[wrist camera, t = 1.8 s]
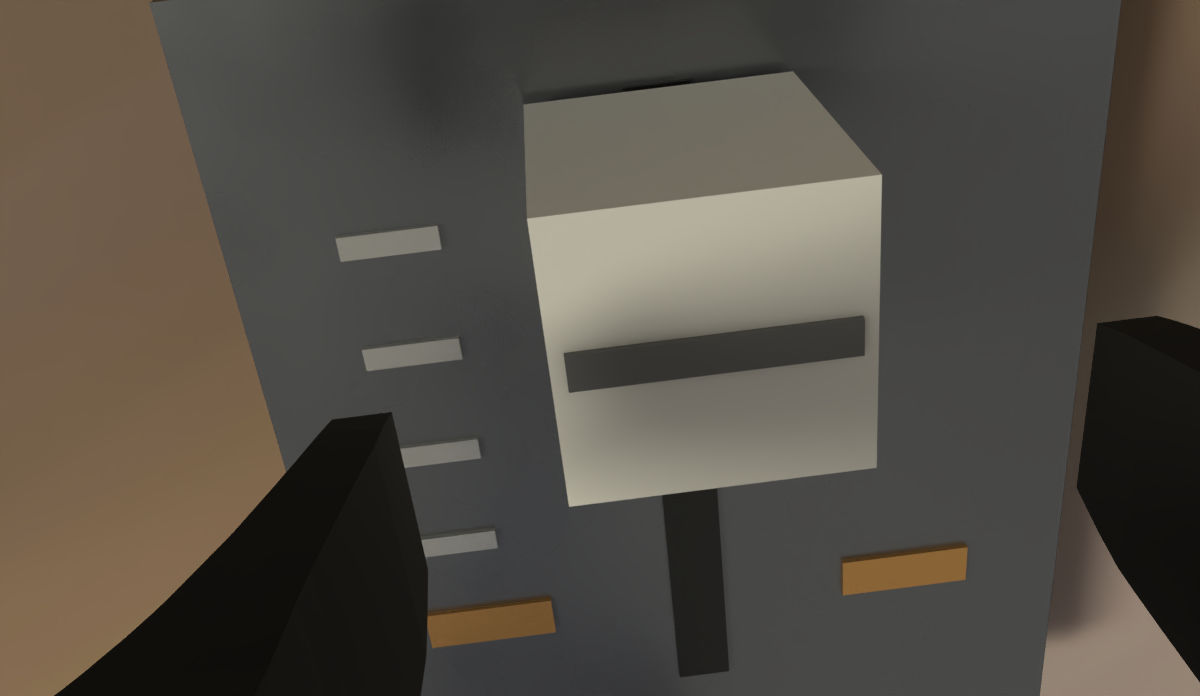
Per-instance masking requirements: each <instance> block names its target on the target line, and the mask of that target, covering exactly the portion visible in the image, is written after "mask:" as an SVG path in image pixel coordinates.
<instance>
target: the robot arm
mask: <svg viewBox="0 0 1200 696" xmlns="http://www.w3.org/2000/svg"><path fill="white" fill-rule="evenodd" d="M1077 489H1078V491H1079V493H1080V495H1081V497H1082V499H1083V501H1084V503H1085V505H1086V508H1087V510H1088V512H1089V514H1090V516H1091V518H1092V520H1093V522H1094V524H1095V526H1096V528H1097V530H1098V532H1099V534H1100V536H1101V537H1102V539H1103V541H1104V543H1105V545H1106V547H1107V548H1108V550H1109V552H1110V554H1111V556H1112V558H1113V559H1114V561H1115V563H1116V565H1117V567H1118V569H1119V570H1120V571H1121V573H1122V574H1123V576H1124V577H1125V579H1126V580H1127V582H1128V583H1129V584H1130V586H1131V587H1132V589H1133V590H1134V592H1135V593H1136V594H1137V596H1138V597H1139V599H1140V600H1141V601H1142V603H1143V604H1144V606H1145V607H1146V608H1147V610H1148V611H1149V613H1150V614H1151V616H1152V617H1153V618H1154V620H1155V621H1156V623H1157V624H1158V625H1159V627H1160V628H1161V630H1162V631H1163V632H1164V634H1165V635H1166V636H1167V638H1168V639H1169V641H1170V642H1171V643H1172V645H1173V646H1174V647H1175V649H1176V650H1177V652H1178V653H1179V654H1180V656H1181V657H1182V658H1183V660H1184V661H1185V663H1186V664H1187V665H1188V667H1189V668H1190V669H1191V671H1192V672H1193V674H1194V675H1195V676H1196V678H1197V679H1198V680H1199V682H1200V329H1198V328H1195V327H1193V326H1190V325H1187V324H1183V323H1180V322H1177V321H1174V320H1170V319H1167V318H1163V317H1159V316H1152V317H1144V318H1136V319H1128V320H1120V321H1112V322H1104V323H1097V330H1096V338H1095V346H1094V354H1093V362H1092V370H1091V378H1090V386H1089V394H1088V402H1087V410H1086V417H1085V425H1084V433H1083V441H1082V449H1081V457H1080V465H1079V473H1078V481H1077ZM427 620H428V567H427V563H426V558H425V554H424V549H423V545H422V541H421V536H420V532H419V528H418V523H417V519H416V515H415V510H414V506H413V502H412V497H411V493H410V489H409V484H408V480H407V476H406V471H405V467H404V463H403V458H402V454H401V450H400V445H399V441H398V437H397V432H396V428H395V424H394V419H393V415H392V412H387V413H379V414H371V415H363V416H355V417H347V418H339V419H332V420H331V421H330V422H329V423H328V424H327V425H326V426H325V428H324V429H323V430H322V431H321V432H320V433H319V434H318V435H317V437H316V438H315V439H314V440H313V441H312V443H311V444H310V445H309V446H308V447H307V448H306V450H305V451H304V452H303V453H302V454H301V456H300V457H299V458H298V459H297V460H296V461H295V463H294V464H293V465H292V466H291V467H290V469H289V470H288V471H287V472H286V473H285V474H284V476H283V477H282V478H281V479H280V480H279V481H278V483H277V484H276V485H275V486H274V487H273V488H272V489H271V491H270V492H269V493H268V494H267V495H266V496H265V497H264V499H263V500H262V501H261V502H260V503H259V504H258V505H257V506H256V508H255V509H254V510H253V511H252V512H251V513H250V514H249V515H248V517H247V518H246V519H245V520H244V521H243V522H242V523H241V525H240V526H239V527H238V528H237V529H236V530H235V531H234V532H233V533H232V534H231V536H230V537H229V538H228V539H227V540H226V541H225V542H224V543H223V544H222V545H221V546H220V547H219V548H218V549H217V550H216V551H215V552H214V553H213V554H212V555H211V556H210V557H209V558H208V559H207V560H206V561H205V562H204V563H203V564H202V565H201V566H200V567H199V568H198V569H197V570H196V571H195V572H194V573H193V574H192V575H191V576H190V577H189V578H188V579H187V580H186V581H185V582H184V583H183V584H182V585H181V586H180V587H179V588H178V589H177V590H176V591H175V592H174V593H173V594H172V595H171V596H170V597H169V598H168V599H167V600H166V601H165V602H164V603H163V604H162V605H161V606H160V607H159V608H158V609H157V610H156V611H155V612H154V613H153V614H151V615H150V616H149V617H148V618H147V619H146V620H145V621H144V622H143V623H141V624H140V625H139V626H138V627H137V628H136V629H135V630H134V631H133V632H131V633H130V634H129V635H128V636H127V637H126V638H125V639H123V640H122V641H121V642H120V643H119V644H117V645H116V646H115V647H114V648H113V649H111V650H110V651H109V652H108V653H107V654H105V655H104V656H103V657H102V658H101V659H100V660H98V661H97V662H96V663H95V664H94V665H92V666H91V667H90V668H89V669H88V670H86V671H85V672H84V673H83V674H82V675H80V676H79V677H78V678H76V679H75V680H74V681H73V682H71V683H70V684H69V685H68V686H66V687H65V688H64V689H63V690H61V691H60V692H58V693H57V694H56V695H54V696H421V690H422V684H423V677H424V670H425V663H426V653H427Z"/></svg>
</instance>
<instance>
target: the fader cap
mask: <svg viewBox="0 0 1200 696" xmlns="http://www.w3.org/2000/svg"><path fill="white" fill-rule="evenodd" d="M523 109H524V141H525V173H526V205H527V223H528V229H529V236H530V243H531V250H532V257H533V264H534V271H535V277H536V284H537V291H538V298H539V305H540V312H541V318H542V325H543V332H544V339H545V346H546V353H547V359H548V366H549V373H550V380H551V387H552V394H553V400H554V407H555V414H556V421H557V428H558V435H559V442H560V448H561V455H562V462H563V469H564V476H565V483H566V489H567V496H568V503H569V507H572V506H580V505H588V504H596V503H603V502H611V501H619V500H627V499H635V498H643V497H651V496H659V495H666V494H674V493H682V492H690V491H698V490H706V489H714V488H722V487H729V486H737V485H745V484H753V483H761V482H769V481H777V480H785V479H792V478H800V477H808V476H816V475H824V474H832V473H840V472H848V471H855V470H863V469H871V468H877V421H878V366H879V311H880V256H881V201H882V174H881V173H880V172H879V171H878V169H877V168H876V167H875V166H874V165H873V164H872V162H871V161H870V160H869V159H868V158H867V157H866V155H865V154H864V153H863V152H862V151H861V150H860V149H859V147H858V146H857V145H856V144H855V143H854V142H853V140H852V139H851V138H850V137H849V136H848V135H847V133H846V132H845V131H844V130H843V129H842V128H841V126H840V125H839V124H838V123H837V122H836V121H835V119H834V118H833V117H832V116H831V115H830V114H829V113H828V111H827V110H826V109H825V108H824V107H823V106H822V104H821V103H820V102H819V101H818V100H817V99H816V97H815V96H814V95H813V94H812V93H811V92H810V90H809V89H808V88H807V87H806V86H805V85H804V83H803V82H802V81H801V80H800V79H799V78H798V77H797V75H796V74H795V73H794V72H793V71H792V72H783V73H775V74H767V75H759V76H751V77H743V78H735V79H727V80H718V81H710V82H702V83H694V84H686V85H678V86H670V87H662V88H653V89H645V90H637V91H629V92H621V93H613V94H605V95H596V96H588V97H580V98H572V99H564V100H556V101H548V102H540V103H531V104H523Z"/></svg>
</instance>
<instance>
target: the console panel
mask: <svg viewBox="0 0 1200 696" xmlns="http://www.w3.org/2000/svg"><path fill="white" fill-rule="evenodd" d="M150 6H151V10H152V13H153V17H154V20H155V24H156V27H157V30H158V34H159V37H160V41H161V44H162V48H163V51H164V54H165V58H166V61H167V65H168V68H169V71H170V75H171V78H172V82H173V85H174V89H175V92H176V95H177V99H178V102H179V106H180V109H181V113H182V116H183V119H184V123H185V126H186V130H187V133H188V137H189V140H190V143H191V147H192V150H193V154H194V157H195V161H196V164H197V167H198V171H199V174H200V178H201V181H202V184H203V188H204V191H205V195H206V198H207V202H208V205H209V208H210V212H211V215H212V219H213V222H214V226H215V229H216V232H217V236H218V239H219V243H220V246H221V250H222V253H223V256H224V260H225V263H226V267H227V270H228V273H229V277H230V280H231V284H232V287H233V291H234V294H235V297H236V301H237V304H238V308H239V311H240V315H241V318H242V321H243V325H244V328H245V332H246V335H247V339H248V342H249V345H250V349H251V352H252V356H253V359H254V363H255V366H256V369H257V373H258V376H259V380H260V383H261V386H262V390H263V393H264V397H265V400H266V404H267V407H268V410H269V414H270V417H271V421H272V424H273V428H274V431H275V434H276V438H277V441H278V445H279V448H280V452H281V455H282V458H283V462H284V465H285V469H286V472H287V471H288V470H289V469H290V467H291V466H292V465H293V464H294V463H295V461H296V460H297V459H298V458H299V457H300V456H301V454H302V453H303V452H304V451H305V450H306V448H307V447H308V446H309V445H310V444H311V443H312V441H313V440H314V439H315V438H316V437H317V435H318V434H319V433H320V432H321V431H322V430H323V429H324V428H325V426H326V425H327V424H328V423H329V422H330V421H331V420H332V419H339V418H347V417H355V416H363V415H371V414H379V413H387V412H392V415H393V419H394V424H395V428H396V432H397V437H398V441H399V445H400V450H401V454H402V458H403V463H404V467H405V471H406V476H407V480H408V484H409V489H410V493H411V497H412V502H413V506H414V510H415V515H416V519H417V523H418V528H419V532H420V536H421V541H422V545H423V549H424V554H425V558H426V563H427V567H428V620H427V653H426V663H425V670H424V677H423V684H422V690H421V696H1040V688H1041V679H1042V671H1043V662H1044V654H1045V645H1046V637H1047V628H1048V620H1049V611H1050V603H1051V594H1052V586H1053V577H1054V569H1055V560H1056V552H1057V543H1058V535H1059V526H1060V518H1061V509H1062V501H1063V492H1064V484H1065V475H1066V467H1067V458H1068V450H1069V441H1070V433H1071V424H1072V416H1073V407H1074V399H1075V390H1076V382H1077V373H1078V365H1079V356H1080V348H1081V339H1082V331H1083V322H1084V314H1085V305H1086V297H1087V288H1088V280H1089V271H1090V263H1091V254H1092V246H1093V237H1094V229H1095V220H1096V212H1097V203H1098V195H1099V186H1100V178H1101V169H1102V161H1103V152H1104V144H1105V135H1106V127H1107V118H1108V110H1109V101H1110V93H1111V84H1112V76H1113V67H1114V59H1115V50H1116V42H1117V33H1118V25H1119V16H1120V8H1121V0H153V1H151V2H150ZM792 71H793V72H794V73H795V74H796V75H797V77H798V78H799V79H800V80H801V81H802V82H803V83H804V85H805V86H806V87H807V88H808V89H809V90H810V92H811V93H812V94H813V95H814V96H815V97H816V99H817V100H818V101H819V102H820V103H821V104H822V106H823V107H824V108H825V109H826V110H827V111H828V113H829V114H830V115H831V116H832V117H833V118H834V119H835V121H836V122H837V123H838V124H839V125H840V126H841V128H842V129H843V130H844V131H845V132H846V133H847V135H848V136H849V137H850V138H851V139H852V140H853V142H854V143H855V144H856V145H857V146H858V147H859V149H860V150H861V151H862V152H863V153H864V154H865V155H866V157H867V158H868V159H869V160H870V161H871V162H872V164H873V165H874V166H875V167H876V168H877V169H878V171H879V172H880V173H881V174H882V201H881V256H880V311H879V366H878V421H877V468H871V469H863V470H855V471H848V472H840V473H832V474H824V475H816V476H808V477H800V478H792V479H785V480H777V481H769V482H761V483H753V484H745V485H737V486H729V487H722V488H714V489H706V490H698V491H690V492H682V493H674V494H666V495H659V496H651V497H643V498H635V499H627V500H619V501H611V502H603V503H596V504H588V505H580V506H572V507H569V503H568V496H567V489H566V483H565V476H564V469H563V462H562V455H561V448H560V442H559V435H558V428H557V421H556V414H555V407H554V400H553V394H552V387H551V380H550V373H549V366H548V359H547V353H546V346H545V339H544V332H543V325H542V318H541V312H540V305H539V298H538V291H537V284H536V277H535V271H534V264H533V257H532V250H531V243H530V236H529V229H528V223H527V205H526V173H525V141H524V109H523V104H531V103H540V102H548V101H556V100H564V99H572V98H580V97H588V96H596V95H605V94H613V93H621V92H629V91H637V90H645V89H653V88H662V87H670V86H678V85H686V84H694V83H702V82H710V81H718V80H727V79H735V78H743V77H751V76H759V75H767V74H775V73H783V72H792Z"/></svg>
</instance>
